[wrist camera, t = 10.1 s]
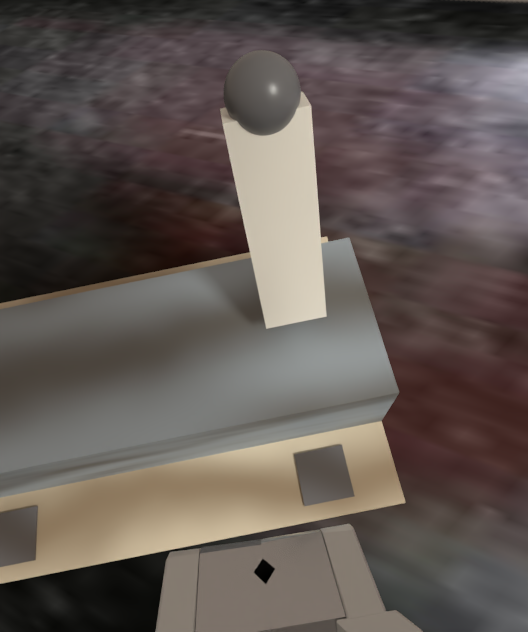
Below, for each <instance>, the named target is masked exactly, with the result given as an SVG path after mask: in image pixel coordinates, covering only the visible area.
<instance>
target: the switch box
mask: <svg viewBox="0 0 528 632" xmlns="http://www.w3.org/2000/svg"><path fill="white" fill-rule="evenodd" d="M321 248H322V261H323V275H324V288H325V302H326V315H327V317H322V318H317V319H312V320H307V321H302V322H297V323H292V324H287V325H282V326H278V327H273V328H268V329H266V325H265V320H264V316H263V311H262V306H261V302H260V297H259V292H258V287H257V283H256V278H255V273H254V269H253V264H252V259H251V255H250V252H249V253H244V254H239V255H234V256H229V257H224V258H220V259H215V260H210V261H205V262H200V263H195V264H190V265H185V266H181V267H176V268H171V269H166V270H161V271H156V272H151V273H146V274H142V275H137V276H132V277H127V278H122V279H117V280H112V281H107V282H102V283H98V284H93V285H88V286H83V287H78V288H73V289H68V290H63V291H59V292H54V293H49V294H44V295H39V296H34V297H29V298H24V299H20V300H15V301H10V302H5V303H0V584H2V583H7V582H12V581H17V580H22V579H27V578H32V577H37V576H42V575H47V574H52V573H57V572H62V571H67V570H72V569H77V568H82V567H87V566H92V565H97V564H102V563H107V562H112V561H117V560H122V559H127V558H132V557H137V556H142V555H147V554H152V553H157V552H162V551H167V550H172V549H177V548H182V547H187V546H192V545H197V544H202V543H207V542H212V541H217V540H222V539H227V538H232V537H237V536H242V535H247V534H253V533H258V532H263V531H268V530H273V529H278V528H283V527H288V526H293V525H298V524H303V523H308V522H313V521H318V520H323V519H328V518H333V517H338V516H343V515H348V514H353V513H358V512H363V511H368V510H373V509H378V508H383V507H388V506H393V505H398V504H403V503H406V502H405V499H404V496H403V492H402V489H401V486H400V482H399V479H398V475H397V472H396V469H395V465H394V462H393V459H392V455H391V452H390V448H389V445H388V442H387V438H386V435H385V432H384V428H383V425H382V419H383V418H384V416H385V414H386V413H387V411H388V410H389V408H390V407H391V405H392V403H393V402H394V400H395V399H396V397H397V395H398V394H399V390H398V387H397V384H396V381H395V378H394V375H393V371H392V368H391V365H390V362H389V359H388V356H387V353H386V350H385V347H384V344H383V341H382V337H381V334H380V331H379V328H378V325H377V322H376V319H375V316H374V313H373V310H372V306H371V303H370V300H369V297H368V294H367V291H366V288H365V285H364V282H363V279H362V276H361V272H360V269H359V266H358V263H357V260H356V257H355V254H354V251H353V248H352V245H351V242H350V238H345V239H340V240H335V241H331V242H328V239H327V237H322V238H321Z"/></svg>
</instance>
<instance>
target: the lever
mask: <svg viewBox="0 0 528 632" xmlns="http://www.w3.org/2000/svg"><path fill="white" fill-rule="evenodd" d="M224 103H225V107H226V108H222V109H220V112H221V117H222V123H223V128H224V132H225V137H226V142H227V147H228V151H229V156H230V161H231V165H232V170H233V175H234V179H235V184H236V189H237V194H238V198H239V203H240V208H241V212H242V217H243V222H244V226H245V231H246V236H247V240H248V245H249V250H250V255H251V259H252V264H253V269H254V273H255V278H256V283H257V287H258V292H259V297H260V302H261V306H262V311H263V316H264V320H265V325H266V329H268V328H273V327H278V326H282V325H287V324H292V323H297V322H302V321H307V320H312V319H317V318H322V317H327V315H326V302H325V288H324V275H323V261H322V248H321V234H320V221H319V207H318V194H317V180H316V167H315V153H314V140H313V126H312V113H311V105H310V103H309V101H308V100H307V98H306V96H305V95H304V93H303V92H301V89H300V83H299V79H298V76H297V74H296V72H295V70H294V68H293V67H292V66H291V64H290V63H289V62H288V61H287V60H286V59H285V58H283V57H282V56H280V55H279V54H276V53H274V52H271V51H264V50H259V51H253V52H250V53H248V54H246V55H244V56H242V57H241V58H240V59H238V60H237V61H236V62H235V63H234V65H233V66H232V67H231V69H230V71H229V72H228V75H227V77H226V80H225V84H224Z"/></svg>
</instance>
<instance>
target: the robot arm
mask: <svg viewBox="0 0 528 632" xmlns="http://www.w3.org/2000/svg"><path fill="white" fill-rule="evenodd" d="M156 632H423V631H422V630H421V629H419V628H418V627H417V626H416V625H414V624H413V623H412V622H411V621H409V620H408V619H407V618H406V617H404V616H403V615H402V614H401V613H399V612H398V611H397V610H395V611H387V612H386V610H385V607H384V604H383V602H382V599H381V597H380V594H379V592H378V589H377V587H376V584H375V582H374V579H373V577H372V574H371V571H370V569H369V566H368V564H367V561H366V559H365V556H364V554H363V551H362V549H361V546H360V544H359V541H358V538H357V536H356V533H355V531H354V528H353V527H352V526H351V525H350V524H345V525H339V526H334V527H328V528H322V529H320V530H313V531H307V532H301V533H295V534H289V535H283V536H277V537H271V538H266V539H261V540H253V541H246V542H238V543H231V544H223V545H216V546H208V547H201V549H191V550H184V551H176V552H170V553H169V556H168V558H167V560H166V565H165V572H164V578H163V585H162V592H161V598H160V605H159V612H158V619H157V625H156Z"/></svg>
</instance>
